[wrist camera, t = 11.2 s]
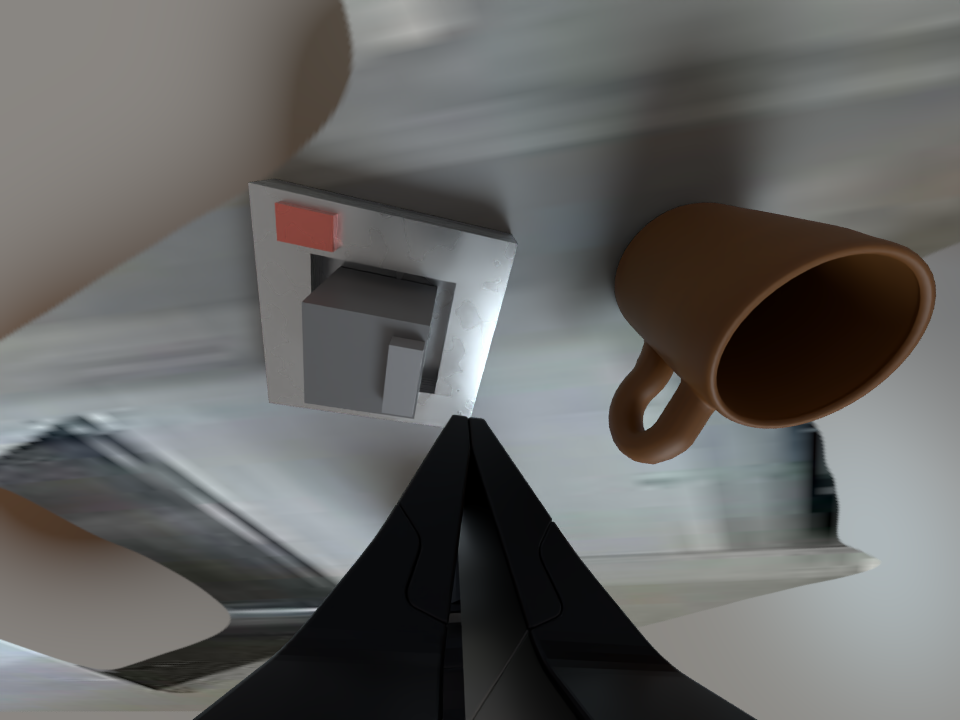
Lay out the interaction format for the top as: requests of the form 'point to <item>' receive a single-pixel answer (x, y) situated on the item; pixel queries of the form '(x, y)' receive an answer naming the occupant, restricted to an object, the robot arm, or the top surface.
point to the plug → (366, 342)
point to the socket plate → (387, 252)
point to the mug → (759, 321)
